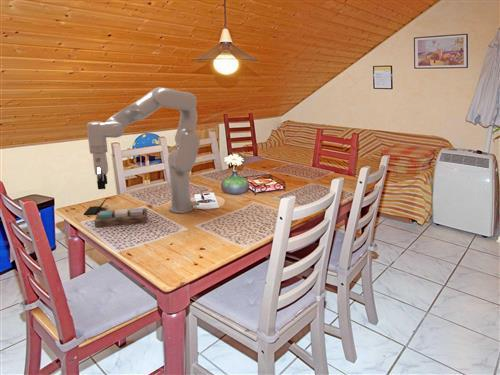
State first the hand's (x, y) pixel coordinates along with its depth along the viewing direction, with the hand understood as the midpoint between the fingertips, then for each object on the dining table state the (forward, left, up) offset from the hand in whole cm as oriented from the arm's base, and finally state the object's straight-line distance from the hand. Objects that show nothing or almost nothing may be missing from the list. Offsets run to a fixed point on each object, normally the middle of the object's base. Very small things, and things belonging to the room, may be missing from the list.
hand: (102, 186), depth 177 cm
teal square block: (0, 0, -16) cm, 16 cm away
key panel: (-7, 0, -18) cm, 19 cm away
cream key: (-7, 0, -16) cm, 17 cm away
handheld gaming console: (+7, -17, -18) cm, 26 cm away
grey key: (-14, 0, -16) cm, 21 cm away
